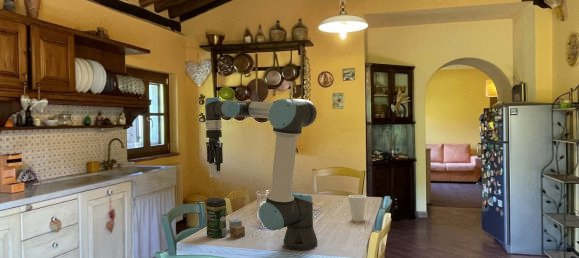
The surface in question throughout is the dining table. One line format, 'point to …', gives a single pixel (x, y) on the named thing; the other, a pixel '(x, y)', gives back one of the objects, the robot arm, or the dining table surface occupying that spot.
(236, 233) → the walnut block
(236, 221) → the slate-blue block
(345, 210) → the dining table surface
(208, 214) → the coffee jar
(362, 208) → the foam cup
